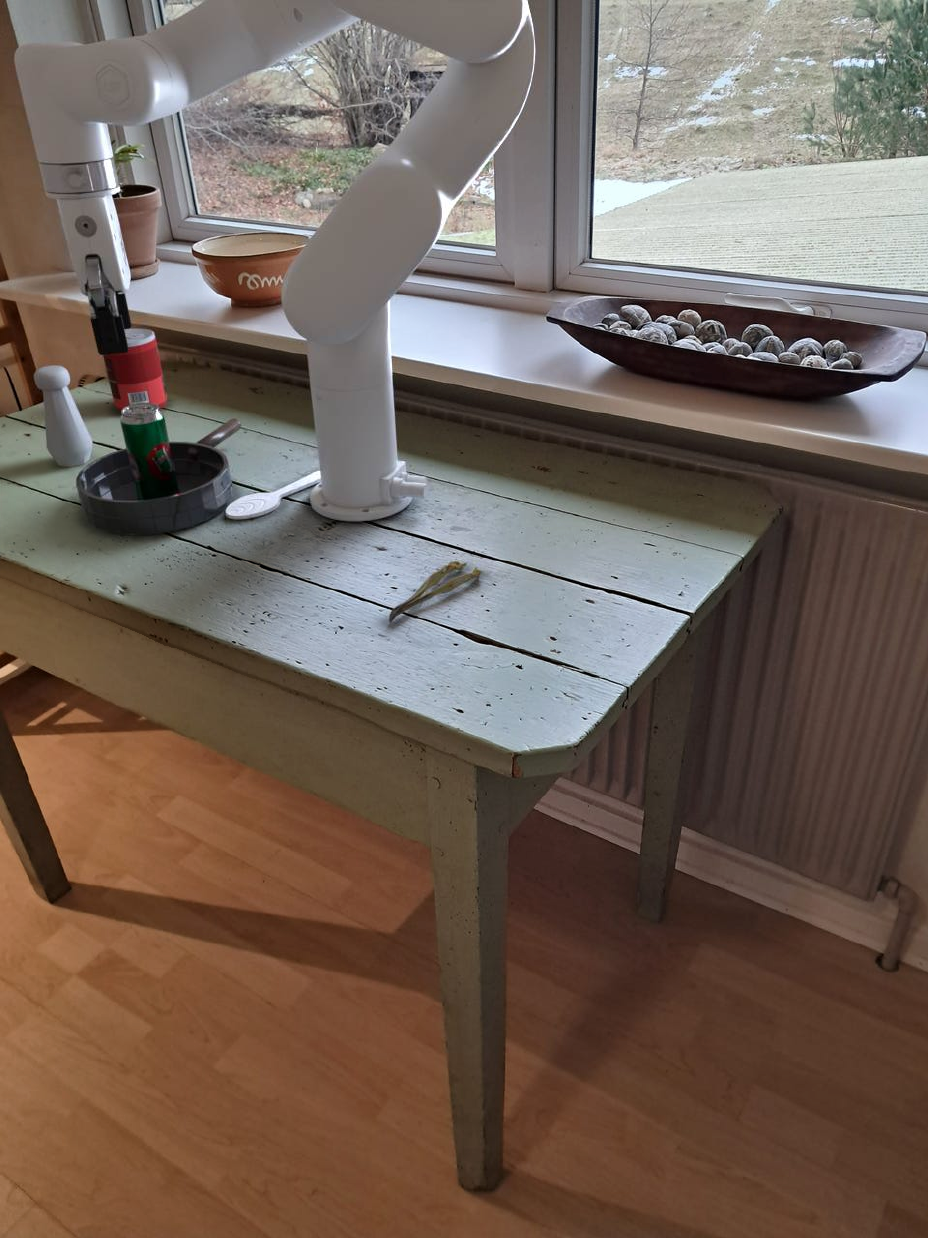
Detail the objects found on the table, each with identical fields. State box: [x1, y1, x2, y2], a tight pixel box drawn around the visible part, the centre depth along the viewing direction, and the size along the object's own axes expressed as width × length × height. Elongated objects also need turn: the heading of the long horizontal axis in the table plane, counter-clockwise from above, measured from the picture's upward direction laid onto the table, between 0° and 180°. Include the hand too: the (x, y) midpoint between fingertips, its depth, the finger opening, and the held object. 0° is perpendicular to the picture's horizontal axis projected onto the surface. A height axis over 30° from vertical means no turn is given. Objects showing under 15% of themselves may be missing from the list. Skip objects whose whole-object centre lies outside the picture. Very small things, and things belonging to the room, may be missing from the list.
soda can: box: [119, 403, 180, 500], centre depth 117 cm, size 5×5×12 cm
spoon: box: [225, 469, 321, 520], centre depth 122 cm, size 5×18×1 cm, turn 139°
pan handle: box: [187, 418, 242, 460], centre depth 129 cm, size 2×12×2 cm, turn 161°
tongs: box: [388, 560, 484, 625], centre depth 99 cm, size 4×13×2 cm, turn 145°
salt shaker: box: [33, 365, 93, 468], centre depth 129 cm, size 6×6×13 cm
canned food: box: [102, 328, 168, 413], centre depth 147 cm, size 8×8×11 cm
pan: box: [75, 441, 234, 536], centre depth 119 cm, size 18×18×4 cm
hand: (116, 340), depth 111 cm, fingers open, 9 cm apart
